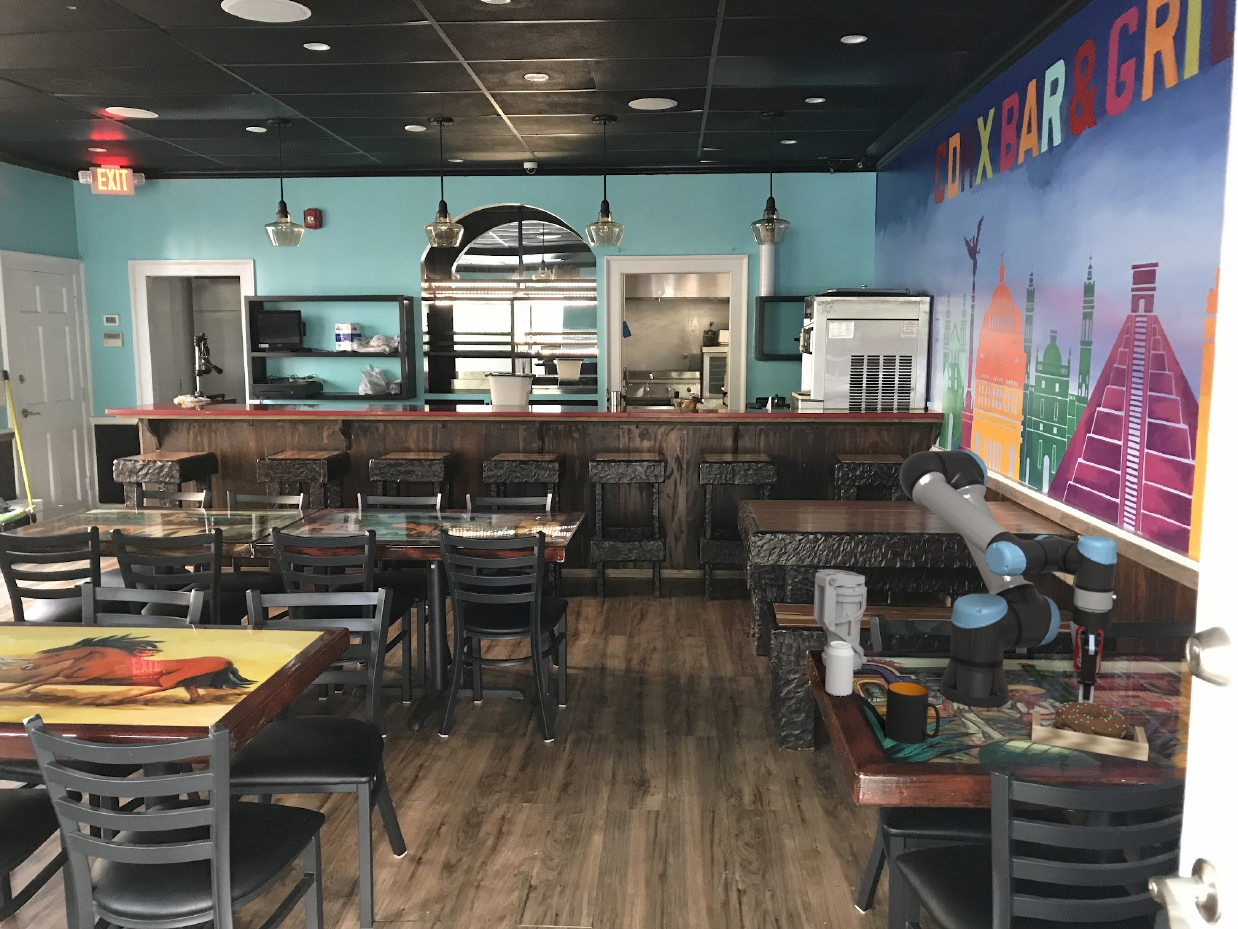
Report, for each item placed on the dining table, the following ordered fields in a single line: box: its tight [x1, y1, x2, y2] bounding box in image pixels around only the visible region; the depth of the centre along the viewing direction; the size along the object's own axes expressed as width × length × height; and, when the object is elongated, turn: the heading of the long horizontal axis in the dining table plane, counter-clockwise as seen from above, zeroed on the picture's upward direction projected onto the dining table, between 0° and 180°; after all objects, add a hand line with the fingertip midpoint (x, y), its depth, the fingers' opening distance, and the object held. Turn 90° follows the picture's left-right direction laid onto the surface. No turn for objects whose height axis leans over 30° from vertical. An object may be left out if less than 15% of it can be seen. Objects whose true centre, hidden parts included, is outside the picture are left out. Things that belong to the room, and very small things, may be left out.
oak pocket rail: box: [1031, 709, 1150, 762], centre depth 192 cm, size 21×10×3 cm, turn 66°
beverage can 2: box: [1072, 625, 1104, 674], centre depth 234 cm, size 6×6×12 cm
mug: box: [884, 680, 941, 745], centre depth 191 cm, size 8×12×10 cm
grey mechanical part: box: [813, 568, 868, 671], centre depth 235 cm, size 13×10×25 cm
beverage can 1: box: [825, 641, 854, 698], centre depth 216 cm, size 6×6×12 cm
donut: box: [1054, 701, 1129, 739], centre depth 196 cm, size 14×14×5 cm
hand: (1084, 711), depth 204 cm, fingers closed
